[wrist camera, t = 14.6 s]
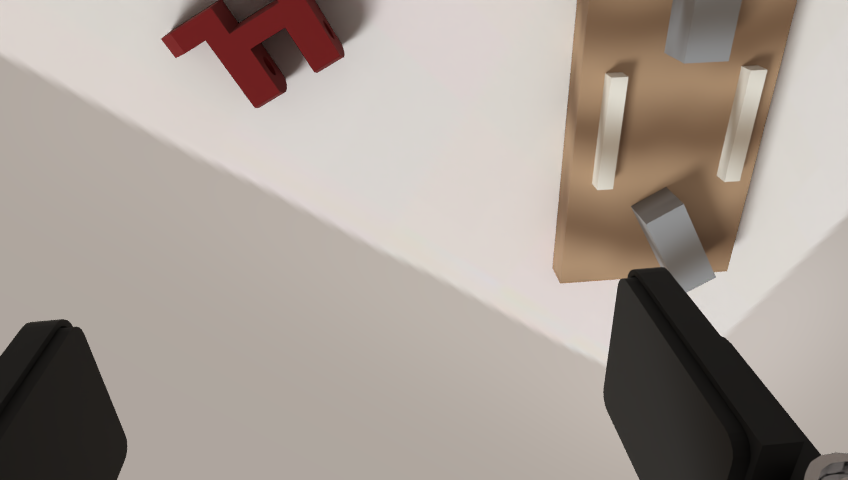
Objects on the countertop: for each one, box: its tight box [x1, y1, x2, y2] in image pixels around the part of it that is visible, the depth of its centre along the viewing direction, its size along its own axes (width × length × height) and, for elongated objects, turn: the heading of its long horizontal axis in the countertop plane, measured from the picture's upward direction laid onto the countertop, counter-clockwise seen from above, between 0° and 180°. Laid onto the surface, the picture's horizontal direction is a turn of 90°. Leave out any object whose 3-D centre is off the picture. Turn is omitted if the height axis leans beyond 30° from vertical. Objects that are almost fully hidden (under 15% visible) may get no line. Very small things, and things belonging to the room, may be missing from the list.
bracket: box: [162, 0, 344, 108], centre depth 34 cm, size 3×6×10 cm
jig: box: [553, 0, 797, 292], centre depth 38 cm, size 22×12×4 cm, turn 1°
